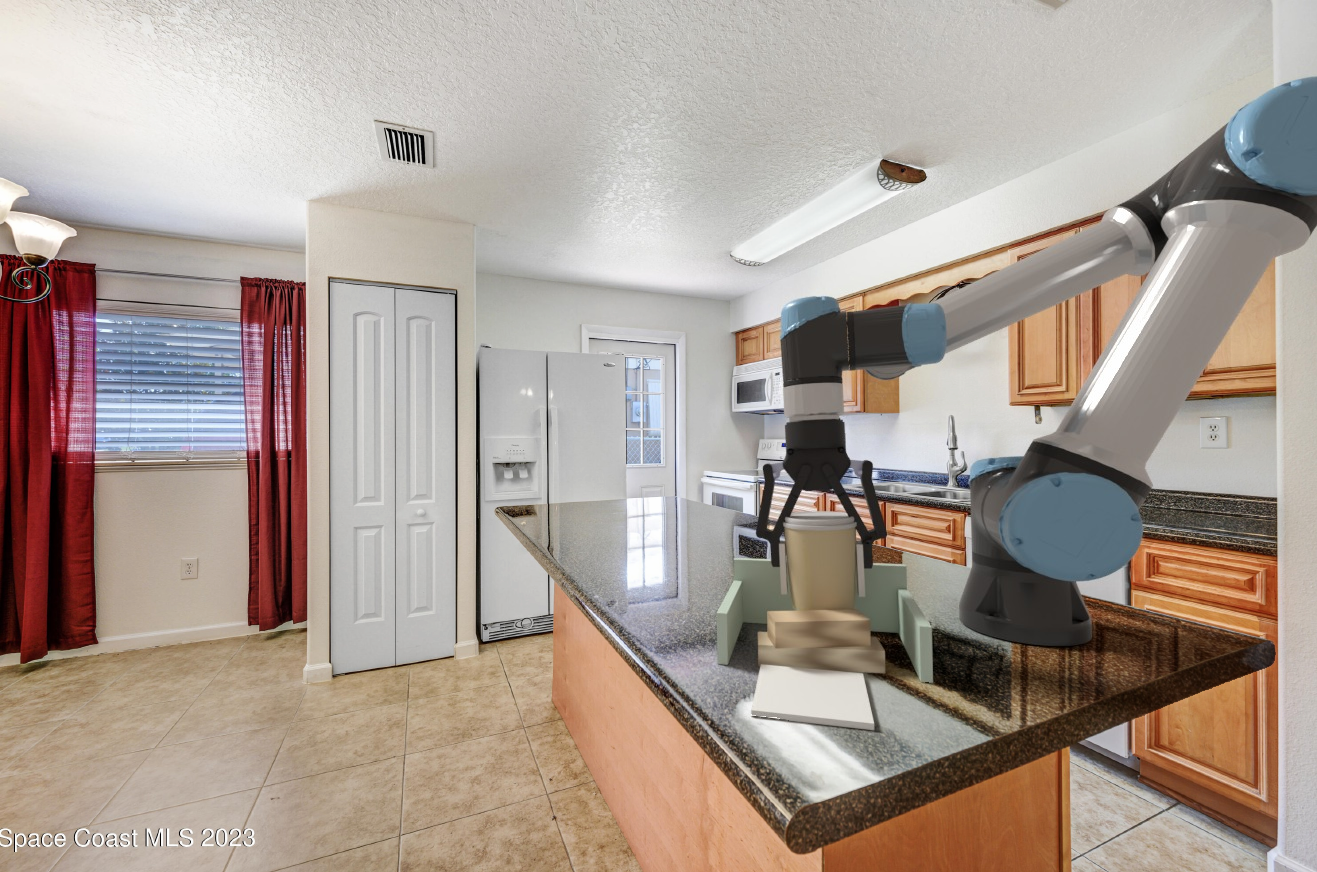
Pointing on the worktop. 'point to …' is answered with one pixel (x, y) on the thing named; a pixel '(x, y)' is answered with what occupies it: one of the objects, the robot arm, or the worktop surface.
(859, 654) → the birch offcut
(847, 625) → the oak offcut
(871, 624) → the screen
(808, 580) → the coffee cup
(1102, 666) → the worktop surface
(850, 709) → the white square tile
